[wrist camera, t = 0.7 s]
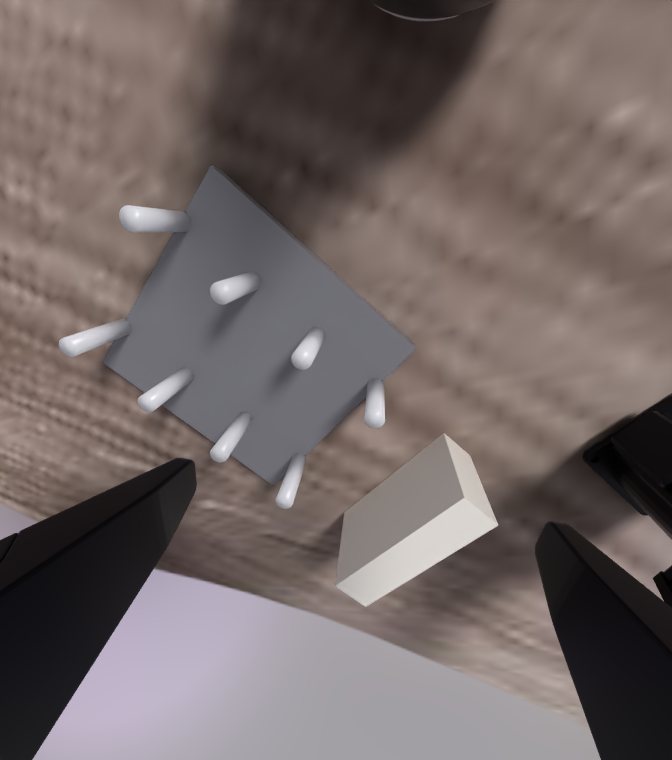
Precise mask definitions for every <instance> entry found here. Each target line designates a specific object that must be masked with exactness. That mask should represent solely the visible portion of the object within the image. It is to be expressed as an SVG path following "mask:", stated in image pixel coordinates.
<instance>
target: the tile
mask: <svg viewBox="0 0 672 760" xmlns="http://www.w3.org/2000/svg"><path fill="white" fill-rule="evenodd" d="M497 526H498V523H497V521H496V518H495V516H494V513H493V511H492V508H491V506H490V504H489V501H488V499H487V496H486V494H485V491H484V489H483V486H482V484H481V481H480V479H479V477H478V474H477V472H476V469H475V467H474V464H473V462H472V459H471V457H470V455H469V454H468V453H466V452H465V451H464V450H463V449H462V448H461V447H459V446H458V445H457V444H456V443H455V442H454V441H452V440H451V439H450V438H449V437H448V436H447V435H445V434H444V433H443V434H442V435H441V436H439V437H438V438H437V439H436V440H434V441H433V442H432V443H431V444H429V445H428V446H427V447H426V448H424V449H423V450H422V451H421V452H419V453H418V454H417V455H416V456H414V457H413V458H412V459H411V460H409V461H408V462H407V463H406V464H404V465H403V466H402V467H401V468H399V469H398V470H397V471H395V472H394V473H393V474H392V475H390V476H389V477H388V478H387V479H385V480H384V481H383V482H382V483H380V484H379V485H378V486H377V487H375V488H374V489H373V490H372V491H370V492H369V493H368V494H367V495H365V496H364V497H363V498H362V499H360V500H359V501H358V502H357V503H355V504H354V505H353V506H352V507H350V508H349V509H348V510H347V511H345V512H344V519H343V527H342V535H341V543H340V551H339V559H338V567H337V575H336V583H335V586H336V587H337V588H339V589H340V590H342V591H343V592H345V593H346V594H348V595H349V596H350V597H352V598H353V599H355V600H356V601H358V602H359V603H361V604H362V605H364V606H365V607H366V606H368V605H370V604H371V603H373V602H374V601H376V600H378V599H379V598H381V597H383V596H384V595H386V594H388V593H389V592H391V591H392V590H394V589H396V588H397V587H399V586H401V585H402V584H404V583H405V582H407V581H409V580H410V579H412V578H414V577H415V576H417V575H418V574H420V573H422V572H423V571H425V570H427V569H428V568H430V567H431V566H433V565H435V564H436V563H438V562H440V561H441V560H443V559H444V558H446V557H448V556H449V555H451V554H453V553H454V552H456V551H457V550H459V549H461V548H462V547H464V546H466V545H467V544H469V543H471V542H472V541H474V540H475V539H477V538H479V537H480V536H482V535H484V534H485V533H487V532H488V531H490V530H492V529H493V528H495V527H497Z"/></svg>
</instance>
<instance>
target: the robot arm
mask: <svg viewBox="0 0 672 760" xmlns="http://www.w3.org/2000/svg"><path fill="white" fill-rule="evenodd" d="M595 456H596V457H595ZM592 457H595V458H594V459H591V458H592ZM583 459H584V461H585V462H586V463H587V464H588V465H589V466H590V467H591V468H592V469H593V470H594V471H595V472H596V473H598V474H599V475H600V476H601V477H602V478H603V479H604V480H605V481H606V482H607V483H608V484H609V485H610V486H612V487H613V488H614V489H615V490H616V491H617V492H618V493H619V494H620V495H621V496H622V497H623V498H624V499H625V500H627V501H628V502H629V503H630V504H631V505H632V506H633V507H634V508H635V509H636V510H637V511H638V512H639V513H640V514H642V515H649V516H650V517H651V518H652V519H653V520H654V522H655V523H656V524H657V525H658V526H659V527H660V528H661V529H662V530H663V531H664V532H665V533H666V534H667V535H668V536H669V537H670V538H671V539H672V397H671V398H669V399H668V400H666V401H664V402H663V403H661V404H660V405H658V406H657V407H655V408H653V409H652V410H650V411H649V412H647V413H646V414H644V415H642V416H641V417H639V418H638V419H636V420H635V421H633V422H631V423H630V424H628V425H627V426H625V427H624V428H622V429H621V430H619V431H617V432H616V433H614V434H613V435H611V436H610V437H608V438H606V439H605V440H603V441H602V442H600V443H599V444H597V445H595V446H594V447H592V448H591V449H589V450H588V451H586V452H585V453H584V455H583ZM196 486H197V482H196V472H195V464H194V461H192V460H190V459H184V458H176V459H174V460H172V461H169V462H167V463H165V464H163V465H161V466H159V467H157V468H154V469H152V470H150V471H148V472H146V473H144V474H141V475H139V476H137V477H135V478H133V479H131V480H129V481H126V482H124V483H122V484H120V485H118V486H116V487H114V488H111V489H109V490H107V491H105V492H103V493H101V494H98V495H96V496H94V497H92V498H90V499H88V500H86V501H83V502H81V503H79V504H77V505H75V506H73V507H71V508H68V509H66V510H64V511H62V512H60V513H58V514H55V515H53V516H51V517H49V518H47V519H45V520H43V521H40V522H38V523H36V524H34V525H32V526H30V527H27V528H25V529H23V530H21V531H20V532H19V534H18V533H15V534H12V535H10V536H8V537H6V538H4V539H2V540H0V760H32V759H33V758H34V756H35V755H36V753H37V751H38V750H39V748H40V746H41V745H42V743H43V742H44V740H45V739H46V737H47V736H48V734H49V732H50V731H51V729H52V728H53V726H54V725H55V723H56V721H57V720H58V718H59V717H60V715H61V714H62V712H63V710H64V709H65V707H66V706H67V704H68V703H69V701H70V699H71V698H72V696H73V694H74V693H75V692H76V690H77V688H78V687H79V685H80V684H81V682H82V681H83V679H84V677H85V676H86V674H87V673H88V671H89V670H90V668H91V666H92V665H93V663H94V662H95V660H96V659H97V657H98V655H99V654H100V652H101V651H102V649H103V648H104V646H105V644H106V643H107V641H108V640H109V638H110V636H111V635H112V633H113V632H114V630H115V629H116V627H117V626H118V624H119V622H120V621H121V619H122V618H123V616H124V615H125V613H126V611H127V610H128V608H129V607H130V605H131V604H132V602H133V600H134V599H135V597H136V596H137V594H138V592H139V591H140V589H141V588H142V586H143V585H144V583H145V582H146V580H147V578H148V577H149V575H150V574H151V572H152V570H153V569H154V567H155V566H156V564H157V563H158V561H159V560H160V558H161V556H162V555H163V553H164V551H165V550H166V548H167V546H168V545H169V543H170V541H171V539H172V537H173V535H174V533H175V531H176V529H177V527H178V525H179V523H180V521H181V519H182V517H183V515H184V513H185V511H186V509H187V507H188V505H189V503H190V501H191V499H192V497H193V496H194V493H195V491H196ZM535 556H536V560H537V564H538V568H539V572H540V576H541V580H542V584H543V588H544V592H545V596H546V600H547V604H548V608H549V612H550V615H551V619H552V622H553V625H554V628H555V631H556V634H557V637H558V640H559V643H560V646H561V648H562V651H563V654H564V657H565V660H566V662H567V665H568V668H569V671H570V674H571V677H572V679H573V682H574V685H575V688H576V691H577V693H578V696H579V699H580V702H581V705H582V708H583V710H584V713H585V716H586V719H587V722H588V724H589V727H590V730H591V733H592V736H593V738H594V741H595V744H596V747H597V750H598V753H599V755H600V758H601V760H672V566H670V567H669V568H668V569H667V570H666V571H664V572H663V571H661V572H659V573H658V574H657V575H656V576H655V577H653V580H654V582H655V584H656V586H657V588H658V590H659V592H660V594H661V596H662V598H663V600H664V601H663V600H661V599H660V598H659V597H658V596H656V595H655V594H654V593H653V592H651V591H650V590H649V589H648V588H646V587H645V586H644V585H643V584H641V583H640V582H639V581H638V580H636V579H635V578H634V577H633V576H631V575H630V574H629V573H628V572H626V571H625V570H624V569H623V568H621V567H620V566H619V565H618V564H617V563H615V562H614V561H613V560H612V559H610V558H609V557H608V556H607V555H605V554H604V553H603V552H602V551H600V550H599V549H598V548H597V547H595V546H594V545H593V544H592V543H590V542H589V541H588V540H587V539H585V538H584V537H583V536H582V535H580V534H579V533H578V532H577V531H575V530H574V529H573V528H572V527H570V526H569V525H568V524H565V523H560V522H555V521H548V522H546V523H545V525H544V527H543V529H542V531H541V533H540V536H539V538H538V540H537V542H536V545H535Z"/></svg>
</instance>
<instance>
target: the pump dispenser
mask: <svg viewBox="0 0 672 760" xmlns="http://www.w3.org/2000/svg"><path fill="white" fill-rule="evenodd" d="M368 1H369V2H371V3H372V4H374V5H375V6H377V7H378V8H380V9H382V10H383V11H385V12H387V13H390V14H392V15H394V16H397V17H400V18H404V19H407V20H414V21H438V20H444V19H448V18H452V17H456V16H458V15H461V14H465V13H468V12H471V11H473V10H476V9H478V8H481V7H483V6H485V5H487V4H489V3H491V2H493V1H495V0H368Z"/></svg>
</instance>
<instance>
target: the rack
mask: <svg viewBox="0 0 672 760" xmlns="http://www.w3.org/2000/svg"><path fill="white" fill-rule="evenodd" d="M119 218H120V222H121V224H122V225H123V227H124V228H125V229H127V230H128V231H130V232H174V233H173V235H172V237H171V238H170V240H169V242H168V244H167V246H166V248H165V249H164V251H163V253H162V255H161V257H160V258H159V260H158V262H157V264H156V266H155V267H154V269H153V271H152V273H151V275H150V277H149V278H148V280H147V282H146V284H145V286H144V287H143V289H142V291H141V293H140V295H139V296H138V298H137V300H136V302H135V304H134V306H133V307H132V309H131V311H130V313H129V315H128V316H127V318H126V320H124V319H119V320H116V321H113V322H110V323H107V324H104V325H101V326H98V327H95V328H92V329H89V330H86V331H83V332H80V333H77V334H74V335H71V336H67V337H64V338H62V339H60V341H59V347H60V349H61V351H62V352H63V353H64V354H65V355H67V356H70V357H74V356H77V355H79V354H81V353H84V352H86V351H89V350H91V349H94V348H96V347H99V346H101V345H104V344H106V343H109V342H111V341H114V342H113V344H112V345H111V347H110V349H109V351H108V353H107V354H106V356H105V358H104V360H103V363H104V364H106V365H107V366H108V367H110V368H111V369H113V370H114V371H115V372H117V373H118V374H119V375H121V376H122V377H124V378H125V379H126V380H128V381H129V382H131V383H132V384H133V385H135V386H136V387H137V388H139V389H140V390H142V391H143V392H144V394H143V395H142V396H140V397H139V398H138V404H139V406H140V408H141V409H143V410H144V411H146V412H153V411H154V410H156V409H157V408H158V407H159V406H161V405H162V406H164V407H165V408H166V409H168V410H169V411H171V412H172V413H173V414H175V415H176V416H178V417H179V418H180V419H182V420H183V421H184V422H186V423H187V424H189V425H190V426H191V427H193V428H194V429H195V430H197V431H198V432H200V433H201V434H202V435H204V436H205V437H207V438H208V439H209V440H211V441H212V442H213V443H215V445H214V447H213V448H212V449H211V451H210V456H211V458H212V459H213V460H214V461H216V462H219V463H222V462H225V461H226V460H227V458H228V457H229V455H231V456H233V457H234V458H236V459H237V460H238V461H240V462H241V463H242V464H244V465H245V466H247V467H248V468H249V469H251V470H252V471H254V472H255V473H256V474H258V475H259V476H260V477H262V478H263V479H265V480H266V481H267V482H269V483H270V484H272V485H273V486H274V485H275V484H276V483H277V482H278V481H279V480H281V479H282V478H283V477H284V476H285V477H284V480H283V483H282V485H281V488H280V490H279V493H278V495H277V498H276V504H277V505H278V506H279V507H280V508H283V509H288V508H290V507H292V505H293V502H294V498H295V495H296V492H297V489H298V486H299V483H300V480H301V477H302V473H303V470H304V467H305V464H306V457H305V455H307V454H308V453H309V452H310V451H311V450H312V449H313V448H314V447H315V446H316V445H317V444H318V443H319V442H320V441H321V440H322V439H323V438H324V437H325V436H326V435H327V434H328V433H329V432H330V431H331V430H333V429H334V428H335V427H336V426H337V425H338V424H339V423H340V422H341V421H342V420H343V419H344V418H345V417H346V416H347V415H348V414H349V413H350V412H351V411H352V410H353V409H354V408H355V407H356V406H357V405H359V404H360V403H361V402H362V401H363V400H364V399H365V398H366V406H365V419H364V420H365V423H366V425H367V426H368V427H370V428H380V427H381V426H383V424H384V423H385V402H384V383H383V380H385V379H386V378H387V377H388V376H389V375H390V374H391V373H392V372H393V371H394V370H395V369H396V368H397V367H398V366H399V365H400V364H401V363H402V362H403V361H404V360H405V359H406V358H407V357H408V356H410V355H411V354H412V353H413V352H414V351H415V350H416V348H415V345H414V343H413V342H411V341H410V340H409V339H408V338H407V337H406V336H405V335H404V334H403V333H401V332H400V331H399V330H398V329H397V328H396V327H395V326H394V325H393V324H392V323H390V322H389V321H388V320H387V319H386V318H385V317H384V316H383V315H382V314H380V313H379V312H378V311H377V310H376V309H375V308H374V307H373V306H372V305H370V304H369V303H368V302H367V301H366V300H365V299H364V298H363V297H362V296H360V295H359V294H358V293H357V292H356V291H355V290H354V289H353V288H352V287H351V286H349V285H348V284H347V283H346V282H345V281H344V280H343V279H342V278H341V277H339V276H338V275H337V274H336V273H335V272H334V271H333V270H332V269H331V268H329V267H328V266H327V265H326V264H325V263H324V262H323V261H322V260H321V259H319V258H318V257H317V256H316V255H315V254H314V253H313V252H312V251H311V250H310V249H308V248H307V247H306V246H305V245H304V244H303V243H302V242H301V241H300V240H298V239H297V238H296V237H295V236H294V235H293V234H292V233H291V232H290V231H288V230H287V229H286V228H285V227H284V226H283V225H282V224H281V223H280V222H278V221H277V220H276V219H275V218H274V217H273V216H272V215H271V214H270V213H269V212H267V211H266V210H265V209H264V208H263V207H262V206H261V205H260V204H259V203H257V202H256V201H255V200H254V199H253V198H252V197H251V196H250V195H249V194H247V193H246V192H245V191H244V190H243V189H242V188H241V187H240V186H239V185H237V184H236V183H235V182H234V181H233V180H232V179H231V178H230V177H229V176H228V175H226V174H225V173H224V172H223V171H222V170H221V169H220V168H217V167H215V166H212V165H211V166H210V168H209V170H208V171H207V173H206V175H205V177H204V179H203V180H202V182H201V184H200V186H199V188H198V189H197V191H196V193H195V195H194V197H193V199H192V200H191V202H190V204H189V206H188V208H187V209H186V211H185V212H183V211H175V210H165V209H156V208H147V207H138V206H129V205H127V206H124V207H122V208H121V210H120V213H119Z"/></svg>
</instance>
